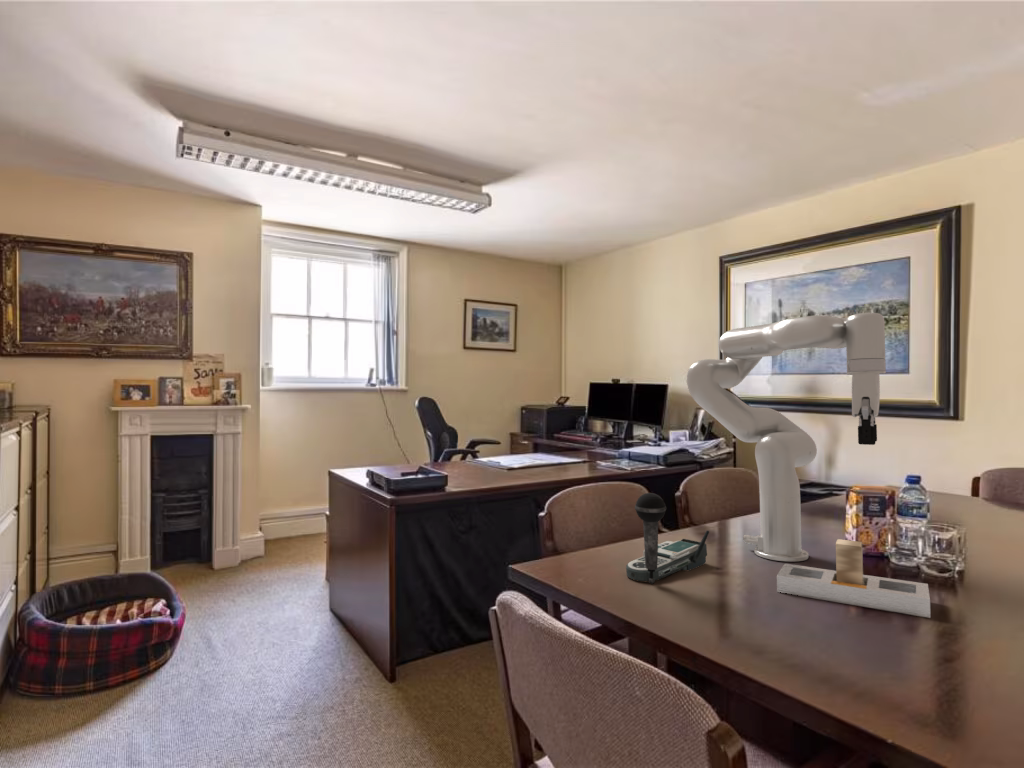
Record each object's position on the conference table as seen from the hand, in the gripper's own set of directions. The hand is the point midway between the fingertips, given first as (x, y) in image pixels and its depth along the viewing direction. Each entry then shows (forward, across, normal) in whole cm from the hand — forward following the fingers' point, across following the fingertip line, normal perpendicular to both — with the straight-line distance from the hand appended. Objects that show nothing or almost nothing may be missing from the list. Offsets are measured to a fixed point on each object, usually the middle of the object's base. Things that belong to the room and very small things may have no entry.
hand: (867, 442), depth 129 cm
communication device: (+31, +20, -42) cm, 55 cm away
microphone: (+31, +31, -40) cm, 59 cm away
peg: (+30, +17, -3) cm, 35 cm away
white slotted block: (+30, +17, -3) cm, 35 cm away
